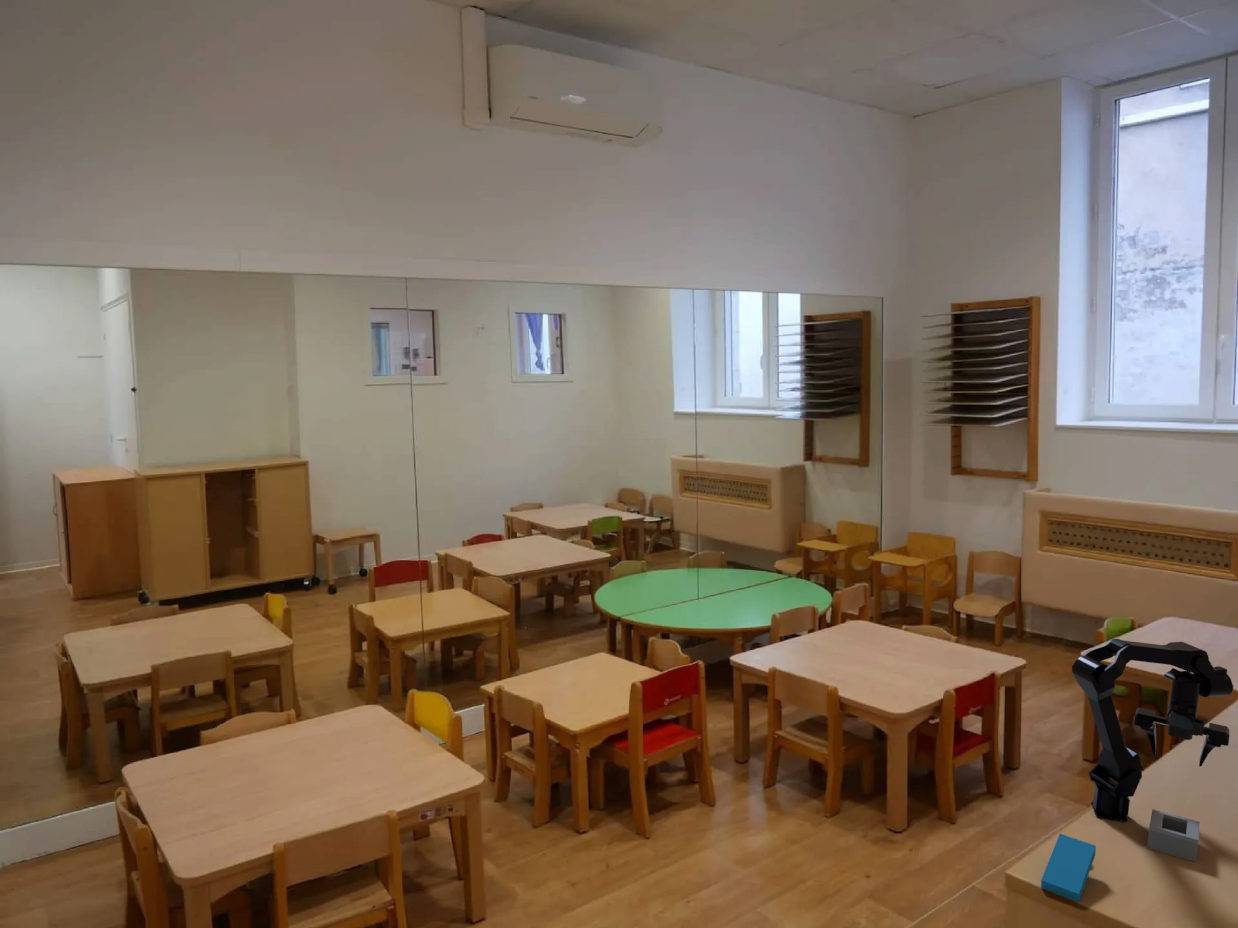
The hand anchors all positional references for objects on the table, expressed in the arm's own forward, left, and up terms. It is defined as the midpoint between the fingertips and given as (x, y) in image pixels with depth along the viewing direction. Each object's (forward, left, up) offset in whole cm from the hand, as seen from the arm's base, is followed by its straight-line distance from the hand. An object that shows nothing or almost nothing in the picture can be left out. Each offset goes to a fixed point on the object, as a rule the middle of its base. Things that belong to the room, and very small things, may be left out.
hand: (1176, 760), depth 209 cm
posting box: (-5, -18, -12) cm, 22 cm away
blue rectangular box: (-28, -38, -12) cm, 49 cm away
